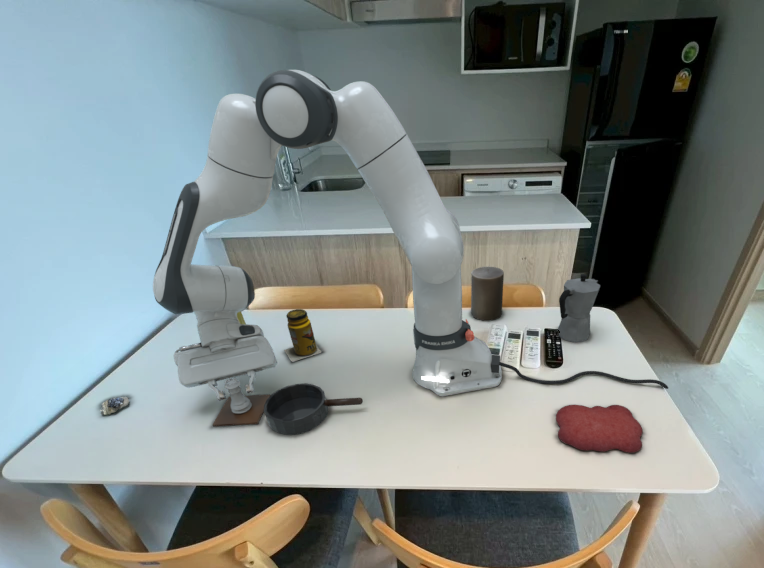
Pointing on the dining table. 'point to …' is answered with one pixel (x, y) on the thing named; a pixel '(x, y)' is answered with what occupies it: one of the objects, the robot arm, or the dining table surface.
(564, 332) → the coffeepot
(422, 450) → the dining table surface
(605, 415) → the patty
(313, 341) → the condiment
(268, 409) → the pan
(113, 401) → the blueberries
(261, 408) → the plate
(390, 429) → the dining table surface
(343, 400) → the pan handle
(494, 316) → the pillar candle
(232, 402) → the rook chess piece
